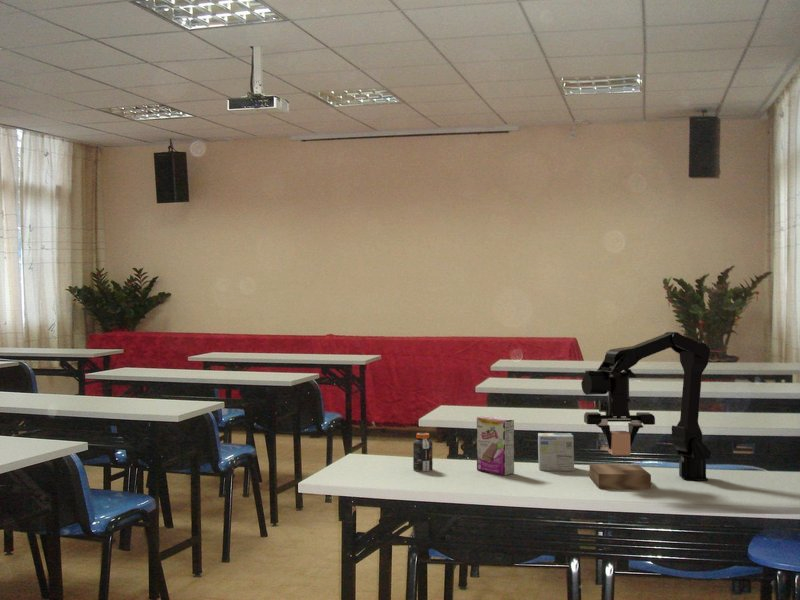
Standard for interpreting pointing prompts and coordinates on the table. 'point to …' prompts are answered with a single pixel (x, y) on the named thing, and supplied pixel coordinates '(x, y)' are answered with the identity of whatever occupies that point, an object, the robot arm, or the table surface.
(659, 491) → the table surface
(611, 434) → the terracotta block
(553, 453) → the light bulb box
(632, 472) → the walnut plinth
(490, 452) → the candy bar box
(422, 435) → the pill bottle
